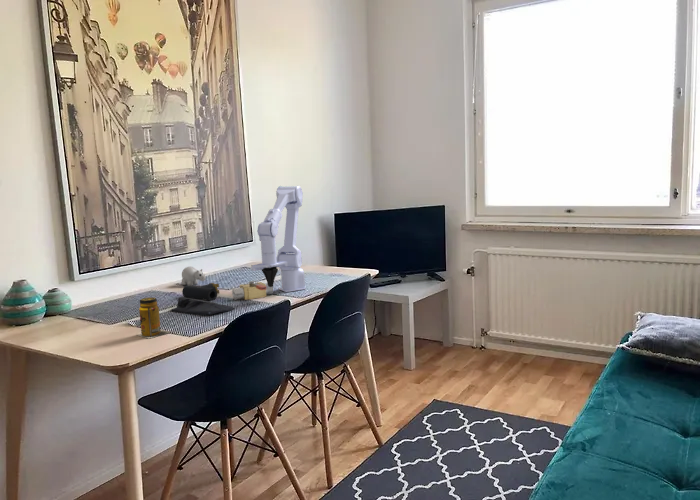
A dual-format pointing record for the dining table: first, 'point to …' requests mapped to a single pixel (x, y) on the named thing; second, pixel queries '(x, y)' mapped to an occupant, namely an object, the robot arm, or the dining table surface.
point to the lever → (257, 285)
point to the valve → (251, 292)
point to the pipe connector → (201, 291)
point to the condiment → (150, 318)
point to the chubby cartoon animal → (192, 276)
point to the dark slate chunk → (200, 307)
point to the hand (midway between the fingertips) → (270, 286)
